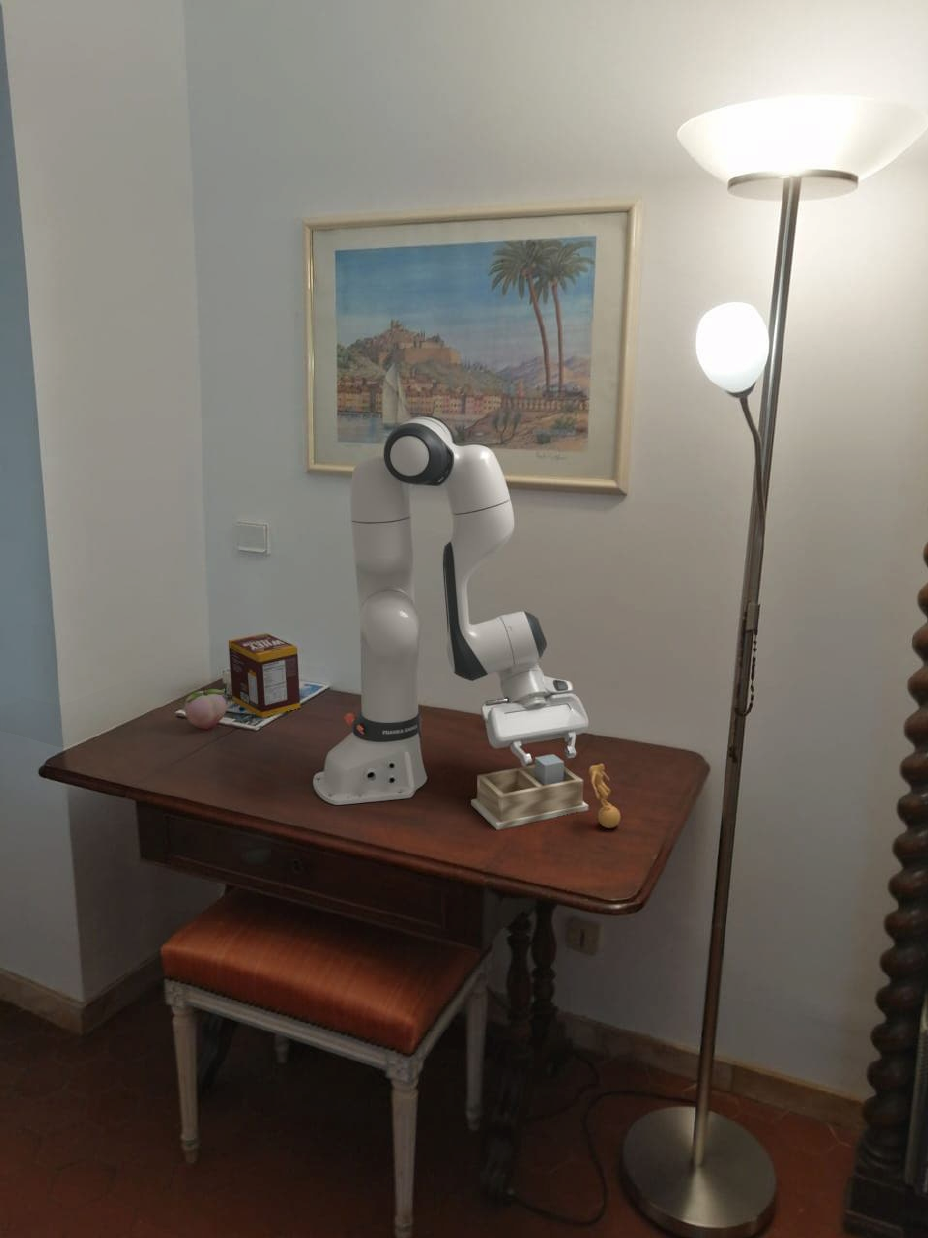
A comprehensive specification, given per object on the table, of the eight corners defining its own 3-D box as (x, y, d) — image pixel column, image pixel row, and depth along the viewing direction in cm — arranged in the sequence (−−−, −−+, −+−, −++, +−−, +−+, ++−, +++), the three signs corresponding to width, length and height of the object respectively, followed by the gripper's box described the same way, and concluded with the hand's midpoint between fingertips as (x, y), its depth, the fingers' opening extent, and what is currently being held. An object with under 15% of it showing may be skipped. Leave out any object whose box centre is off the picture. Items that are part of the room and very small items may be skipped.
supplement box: (268, 691, 244) (265, 632, 240) (301, 708, 232) (298, 646, 228) (231, 701, 237) (227, 639, 233) (262, 719, 226) (258, 654, 222)
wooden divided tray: (496, 830, 174) (497, 799, 173) (471, 804, 184) (471, 775, 182) (588, 810, 182) (589, 780, 180) (558, 786, 192) (559, 758, 190)
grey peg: (543, 805, 182) (545, 765, 180) (533, 796, 185) (534, 757, 183) (562, 801, 183) (563, 762, 181) (552, 792, 187) (553, 754, 185)
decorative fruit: (214, 718, 226) (211, 678, 223) (233, 728, 220) (231, 686, 218) (177, 729, 219) (174, 687, 217) (197, 739, 214) (193, 696, 211)
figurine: (614, 839, 171) (617, 776, 168) (581, 833, 173) (583, 771, 170) (624, 818, 179) (627, 758, 176) (592, 813, 181) (594, 753, 178)
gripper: (483, 694, 181) (506, 763, 175) (578, 680, 189) (603, 745, 183) (472, 709, 186) (494, 776, 180) (565, 695, 194) (589, 758, 188)
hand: (550, 760), depth 182 cm, fingers open, 8 cm apart
